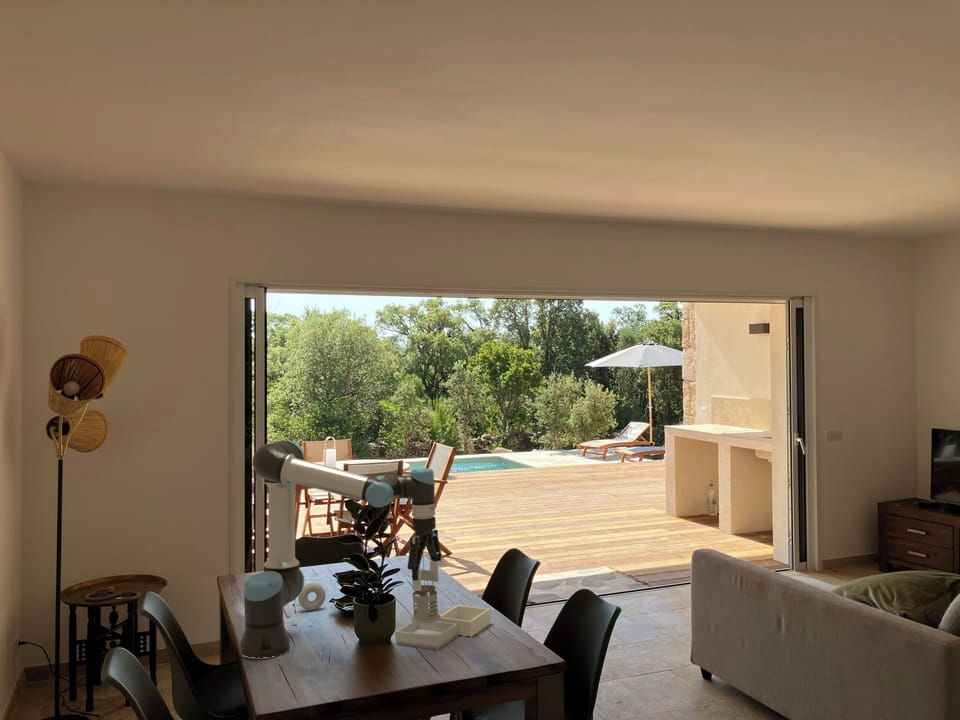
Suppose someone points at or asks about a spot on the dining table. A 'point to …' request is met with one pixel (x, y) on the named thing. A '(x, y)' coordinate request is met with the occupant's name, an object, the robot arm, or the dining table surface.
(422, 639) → the tray
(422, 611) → the french press
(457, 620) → the cream open box
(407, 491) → the robot arm
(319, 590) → the donut
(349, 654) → the dining table surface
